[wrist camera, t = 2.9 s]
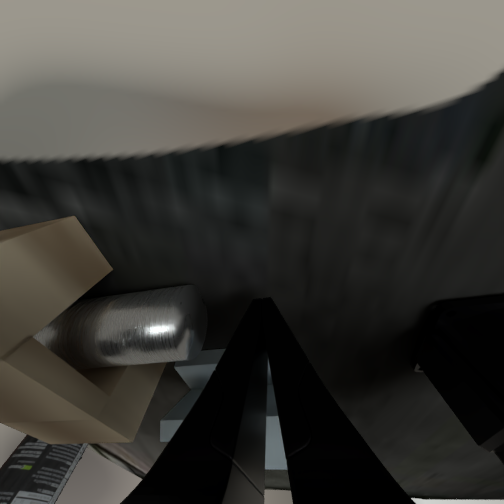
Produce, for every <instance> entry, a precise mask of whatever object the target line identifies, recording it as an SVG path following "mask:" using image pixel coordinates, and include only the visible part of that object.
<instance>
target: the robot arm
mask: <svg viewBox="0 0 504 504" xmlns="http://www.w3.org/2000/svg"><path fill="white" fill-rule="evenodd" d="M268 360H269V366H270V372H271V377H272V383H273V389H274V395H275V400H276V406H277V412H278V418H279V423H280V429H281V435H282V440H283V446H284V452H285V458H286V461H287V462H286V463H287V469H288V475H289V481H290V487H291V493H292V500H293V504H416V503H415V502H414V501H413V500H412V499H411V498H410V497H409V496H408V495H407V494H406V492H405V491H404V490H403V489H402V488H401V487H400V485H399V484H398V483H397V482H396V481H395V479H394V478H393V477H392V476H391V474H390V473H389V472H388V471H387V469H386V468H385V467H384V466H383V464H382V463H381V462H380V460H379V459H378V458H377V457H376V455H375V454H374V453H373V451H372V450H371V449H370V447H369V446H368V445H367V443H366V442H365V441H364V439H363V438H362V437H361V435H360V434H359V433H358V431H357V430H356V429H355V427H354V426H353V425H352V423H351V422H350V421H349V419H348V418H347V417H346V415H345V414H344V413H343V411H342V410H341V409H340V407H339V406H338V404H337V403H336V402H335V400H334V399H333V397H332V396H331V394H330V393H329V392H328V390H327V389H326V387H325V386H324V384H323V382H322V381H321V379H320V378H319V376H318V375H317V373H316V371H315V370H314V368H313V366H312V365H311V363H310V362H309V360H308V358H307V357H306V355H305V353H304V352H303V350H302V348H301V347H300V345H299V343H298V342H297V340H296V338H295V337H294V335H293V333H292V332H291V330H290V328H289V327H288V325H287V323H286V322H285V320H284V318H283V317H282V315H281V313H280V311H279V310H278V308H277V306H276V305H275V303H274V301H273V300H272V298H271V297H268V298H263V299H261V298H259V299H253V300H252V302H251V304H250V306H249V308H248V309H247V311H246V313H245V315H244V317H243V318H242V320H241V322H240V324H239V326H238V328H237V329H236V331H235V333H234V335H233V337H232V338H231V340H230V342H229V344H228V346H227V347H226V349H225V351H224V353H223V355H222V357H221V358H220V360H219V362H218V364H217V366H216V367H215V370H216V371H215V370H214V371H213V373H212V375H211V376H210V378H209V380H208V382H207V383H206V385H205V387H204V389H203V390H202V392H201V394H200V395H199V397H198V399H197V400H196V402H195V403H194V405H193V406H192V408H191V410H190V411H189V413H188V414H187V416H186V417H185V419H184V420H183V422H182V423H181V425H180V426H179V428H178V429H177V431H176V432H175V434H174V435H173V437H172V438H171V440H170V441H169V443H168V444H167V445H166V447H165V448H164V450H163V451H162V453H161V454H160V456H159V457H158V459H157V460H156V462H155V463H154V465H153V466H152V468H151V469H150V470H149V472H148V473H147V474H146V476H145V477H144V478H143V479H142V481H141V482H140V483H139V484H138V486H137V487H136V488H135V489H134V490H133V491H132V492H131V493H130V494H129V495H128V496H127V497H126V498H125V499H124V500H123V501H122V502H121V503H120V504H264V488H265V451H266V415H267V378H268ZM410 365H411V366H412V368H413V369H414V371H415V372H424V373H425V374H426V376H427V377H428V378H429V380H430V381H431V382H432V384H433V385H434V386H435V388H436V389H437V391H438V392H439V393H440V395H441V396H442V397H443V399H444V400H445V401H446V403H447V404H448V405H449V407H450V408H451V409H452V411H453V412H454V414H455V415H456V416H457V418H458V419H459V420H460V422H461V423H462V424H463V426H464V427H465V428H466V430H467V431H468V432H469V434H470V435H471V437H472V438H473V439H474V441H475V442H476V443H477V444H478V445H479V446H480V447H481V448H483V449H484V450H485V451H487V452H494V453H495V454H496V455H497V456H498V458H499V459H500V460H501V462H502V463H503V464H504V296H496V297H486V298H477V299H467V300H458V301H448V302H443V303H441V304H439V305H438V306H436V307H435V309H434V311H433V313H432V315H431V318H430V320H429V322H428V324H427V327H426V329H425V331H424V333H423V336H422V338H421V340H420V342H419V345H418V347H417V349H416V351H415V354H414V356H413V358H412V360H411V363H410Z"/></svg>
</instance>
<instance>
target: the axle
mask: <svg viewBox="0 0 504 504" xmlns="http://www.w3.org/2000/svg"><path fill="white" fill-rule="evenodd" d="M206 332H207V308H206V305H205V303H204V300H203V298H202V296H201V294H200V292H199V290H198V287H197V286H195V285H184V286H177V287H170V288H163V289H155V290H148V291H141V292H134V293H127V294H119V295H112V296H105V297H98V298H91V299H83V300H76V301H75V302H74V303H73V304H71V305H70V306H69V307H68V308H67V309H65V310H64V311H63V312H62V313H61V314H59V315H58V316H57V317H56V318H55V319H54V320H52V321H51V322H50V323H49V324H48V325H46V326H45V327H44V328H43V329H42V330H40V331H39V332H38V333H37V334H36V335H34V336H33V337H34V338H35V339H36V340H37V341H39V342H40V343H41V344H43V345H44V346H45V347H46V348H48V349H49V350H50V351H52V352H53V353H54V354H55V355H57V356H58V357H59V358H61V359H62V360H63V361H64V362H66V363H67V364H68V365H70V366H71V367H72V368H74V369H75V370H77V369H89V368H101V367H113V366H125V365H137V364H149V363H161V362H173V361H185V360H192V359H194V358H196V357H197V356H198V354H199V353H200V351H201V349H202V347H203V345H204V341H205V338H206Z"/></svg>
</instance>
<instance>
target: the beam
mask: <svg viewBox="0 0 504 504" xmlns="http://www.w3.org/2000/svg"><path fill="white" fill-rule="evenodd" d="M112 270H113V269H112V267H111V266H110V264H109V263H108V262H107V260H106V259H105V257H104V256H103V255H102V253H101V252H100V250H99V249H98V248H97V246H96V245H95V243H94V242H93V241H92V239H91V238H90V236H89V235H88V234H87V232H86V231H85V229H84V228H83V227H82V225H81V224H80V222H79V221H78V220H77V218H76V217H75V216H71V217H66V218H61V219H56V220H51V221H46V222H41V223H37V224H32V225H27V226H22V227H17V228H12V229H7V230H3V231H0V423H2V424H5V425H7V426H9V427H11V428H14V429H16V430H18V431H21V432H23V433H25V434H28V435H30V436H32V437H34V438H37V439H39V440H41V441H44V442H46V443H48V444H82V443H127V442H133V441H134V439H135V436H136V434H137V432H138V429H139V427H140V425H141V422H142V420H143V417H144V415H145V413H146V410H147V408H148V406H149V403H150V401H151V399H152V396H153V394H154V392H155V389H156V387H157V385H158V382H159V380H160V378H161V375H162V373H163V370H164V368H165V366H166V363H167V362H161V363H149V364H137V365H125V366H113V367H101V368H89V369H77V370H75V369H74V368H72V367H71V366H70V365H68V364H67V363H66V362H64V361H63V360H62V359H61V358H59V357H58V356H57V355H55V354H54V353H53V352H52V351H50V350H49V349H48V348H46V347H45V346H44V345H43V344H41V343H40V342H39V341H37V340H36V339H35V338H34V337H33V336H34V335H36V334H37V333H38V332H39V331H40V330H42V329H43V328H44V327H45V326H46V325H48V324H49V323H50V322H51V321H52V320H54V319H55V318H56V317H57V316H58V315H59V314H61V313H62V312H63V311H64V310H65V309H67V308H68V307H69V306H70V305H71V304H73V303H74V302H75V301H76V300H77V299H79V298H80V297H81V296H82V295H83V294H85V293H86V292H87V291H88V290H89V289H90V288H92V287H93V286H94V285H95V284H96V283H98V282H99V281H100V280H101V279H102V278H104V277H105V276H106V275H107V274H108V273H110V272H111V271H112Z"/></svg>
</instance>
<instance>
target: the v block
mask: <svg viewBox="0 0 504 504" xmlns="http://www.w3.org/2000/svg"><path fill="white" fill-rule="evenodd" d="M224 351H225V349H215V350H204V351H200V353H199V354H198V356H197V357H196V358H194V359H192V360H185V361H176V363H175V365H174V368H175V369H176V371H177V372H178V373H179V375H180V376H181V377H182V378H183V380H184V381H185V382H186V384H187V385H188V386H189V388H190V389H191V390H190V391H189V392H188V393H187V394H186V395H185V396H184V397H183V398H182V399H181V400H180V401H179V402H178V403H177V404H176V405H175V406H174V407H173V408H172V409H171V410H170V411H169V412H168V413H167V414H166V415H165V416H164V417H163V419H162V420H161V421H160V442H169V441H170V440H171V438H172V437H173V435H174V434H175V432H176V431H177V429H178V428H179V426H180V425H181V423H182V422H183V420H184V419H185V417H186V416H187V414H188V413H189V411H190V410H191V408H192V406H193V405H194V403H195V402H196V400H197V399H198V397H199V395H200V394H201V392H202V390H203V389H204V387H205V385H206V383H207V382H208V380H209V378H210V376H211V375H212V373H213V371H214V370H215V367H216V366H217V364H218V362H219V360H220V358H221V357H222V355H223V353H224ZM215 371H216V370H215ZM286 462H287V461H286V458H285V452H284V446H283V440H282V435H281V429H280V423H279V418H278V412H277V406H276V400H275V395H274V389H273V383H272V377H271V372H270V366H269V360H268V378H267V415H266V451H265V469H287V463H286Z"/></svg>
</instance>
